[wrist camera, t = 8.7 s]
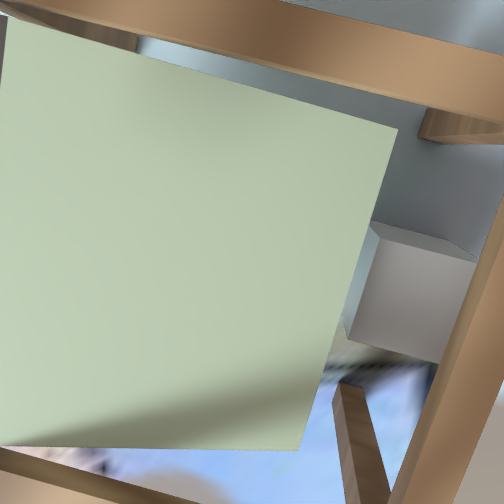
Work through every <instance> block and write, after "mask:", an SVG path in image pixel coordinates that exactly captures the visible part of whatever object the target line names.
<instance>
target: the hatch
mask: <svg viewBox="0 0 504 504" xmlns="http://www.w3.org/2000/svg"><path fill="white" fill-rule="evenodd" d="M398 130H399V129H396V128H392V127H389V126H385V125H382V124H378V123H375V122H371V121H368V120H364V119H361V118H358V117H354V116H351V115H347V114H344V113H340V112H337V111H333V110H330V109H326V108H323V107H320V106H316V105H313V104H309V103H306V102H302V101H299V100H295V99H292V98H288V97H285V96H282V95H278V94H275V93H271V92H268V91H264V90H261V89H257V88H254V87H250V86H247V85H244V84H240V83H237V82H233V81H230V80H226V79H223V78H219V77H216V76H212V75H209V74H206V73H202V72H199V71H195V70H192V69H188V68H185V67H181V66H178V65H174V64H171V63H168V62H164V61H161V60H157V59H154V58H150V57H147V56H143V55H140V54H136V53H133V52H130V51H126V50H123V49H119V48H116V47H112V46H109V45H105V44H102V43H98V42H95V41H92V40H88V39H85V38H81V37H78V36H74V35H71V34H67V33H64V32H60V31H57V30H54V29H50V28H47V27H43V26H40V25H36V24H33V23H29V22H26V21H22V20H19V19H16V18H12V17H9V16H8V17H7V16H4V15H0V446H30V447H87V448H144V449H201V450H258V451H298V450H299V447H300V444H301V440H302V437H303V434H304V431H305V428H306V424H307V421H308V418H309V415H310V412H311V408H312V405H313V402H314V399H315V395H316V392H317V389H318V386H319V383H320V379H321V376H322V373H323V370H324V367H325V363H326V360H327V357H328V354H329V351H330V347H331V344H332V341H333V338H334V335H335V331H336V328H337V325H338V322H339V319H340V315H341V312H342V309H343V306H344V303H345V299H346V296H347V293H348V290H349V287H350V283H351V280H352V277H353V274H354V271H355V267H356V264H357V261H358V258H359V255H360V251H361V248H362V245H363V242H364V239H365V235H366V232H367V229H368V226H369V223H370V219H371V216H372V213H373V210H374V207H375V203H376V200H377V197H378V194H379V191H380V187H381V184H382V181H383V178H384V175H385V171H386V168H387V165H388V162H389V158H390V155H391V152H392V149H393V146H394V142H395V139H396V136H397V133H398Z"/></svg>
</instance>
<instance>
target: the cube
mask: <svg viewBox="0 0 504 504" xmlns="http://www.w3.org/2000/svg"><path fill="white" fill-rule="evenodd" d="M478 261H479V259H477V258H476V257H474V256H473V255H471V254H469V253H468V252H466V251H465V250H463V249H461V248H460V247H458V246H457V245H455V244H453V243H452V242H450V241H449V240H445V239H441V238H437V237H433V236H429V235H426V234H422V233H418V232H414V231H410V230H406V229H403V228H399V227H395V226H391V225H387V224H383V223H379V222H376V221H372V220H370V223H369V226H368V229H367V232H366V235H365V239H364V242H363V245H362V248H361V251H360V255H359V258H358V261H357V264H356V267H355V271H354V274H353V277H352V280H351V283H350V287H349V290H348V293H347V296H346V299H345V303H344V306H343V309H342V312H341V316H342V320H343V324H344V328H345V331H346V335H347V339H348V340H352V341H356V342H360V343H363V344H367V345H371V346H374V347H378V348H382V349H386V350H389V351H393V352H397V353H401V354H404V355H408V356H412V357H415V358H419V359H423V360H427V361H430V362H434V363H438V364H440V362H441V359H442V356H443V354H444V351H445V348H446V346H447V343H448V340H449V338H450V335H451V332H452V330H453V327H454V325H455V322H456V319H457V317H458V314H459V311H460V309H461V306H462V303H463V301H464V298H465V295H466V293H467V290H468V287H469V285H470V282H471V279H472V277H473V274H474V271H475V269H476V266H477V263H478Z"/></svg>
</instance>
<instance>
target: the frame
mask: <svg viewBox="0 0 504 504" xmlns="http://www.w3.org/2000/svg"><path fill="white" fill-rule="evenodd" d="M0 11H1V12H4V13H6V14H8V15H10V16H12V17H15V18H17V19H19V20H22V21H26V22H29V23H33V24H36V25H40V26H43V27H47V28H50V29H54V30H57V31H60V32H64V33H67V34H71V35H74V36H78V37H81V38H85V39H88V40H92V41H95V42H98V43H102V44H105V45H109V46H112V47H116V48H119V49H123V50H126V51H130V52H133V53H135V51H136V45H137V39H138V37H137V36H136V35H134V34H133V33H136V34H140V35H144V36H148V37H152V38H156V39H160V40H164V41H168V42H172V43H176V44H180V45H184V46H188V47H192V48H196V49H200V50H204V51H208V52H212V53H216V54H220V55H224V56H228V57H232V58H236V59H240V60H244V61H248V62H252V63H256V64H260V65H264V66H268V67H272V68H276V69H280V70H284V71H288V72H292V73H296V74H300V75H304V76H308V77H312V78H316V79H320V80H324V81H328V82H332V83H336V84H340V85H344V86H348V87H352V88H356V89H360V90H364V91H368V92H372V93H376V94H380V95H384V96H388V97H392V98H396V99H400V100H404V101H408V102H412V103H416V104H420V105H424V106H428V107H432V108H429V109H427V110H426V113H425V116H424V119H423V122H422V125H421V128H420V131H419V134H418V138H422V139H426V140H430V141H434V142H438V143H442V144H504V56H502V55H498V54H494V53H490V52H486V51H482V50H478V49H474V48H470V47H466V46H461V45H457V44H453V43H449V42H445V41H441V40H437V39H433V38H429V37H425V36H421V35H417V34H413V33H408V32H404V31H400V30H396V29H392V28H388V27H384V26H380V25H376V24H372V23H368V22H364V21H360V20H356V19H351V18H347V17H343V16H339V15H335V14H331V13H327V12H323V11H319V10H315V9H311V8H307V7H303V6H299V5H294V4H290V3H286V2H282V1H278V0H0ZM131 32H132V33H131ZM503 380H504V194H503V197H502V200H501V202H500V205H499V208H498V210H497V213H496V216H495V218H494V221H493V224H492V226H491V229H490V232H489V234H488V237H487V239H486V242H485V245H484V247H483V250H482V253H481V255H480V258H479V261H478V263H477V266H476V269H475V271H474V274H473V277H472V279H471V282H470V285H469V287H468V290H467V293H466V295H465V298H464V301H463V303H462V306H461V309H460V311H459V314H458V317H457V319H456V322H455V325H454V327H453V330H452V332H451V335H450V338H449V340H448V343H447V346H446V348H445V351H444V354H443V356H442V359H441V362H440V364H439V367H438V370H437V372H436V375H435V378H434V380H433V383H432V386H431V388H430V391H429V394H428V396H427V399H426V402H425V404H424V407H423V410H422V412H421V415H420V418H419V420H418V423H417V425H416V428H415V431H414V433H413V436H412V439H411V441H410V444H409V447H408V449H407V452H406V455H405V457H404V460H403V463H402V465H401V468H400V471H399V473H398V476H397V479H396V481H395V484H394V487H393V489H392V492H391V491H390V487H389V483H388V480H387V476H386V472H385V469H384V465H383V461H382V458H381V454H380V450H379V447H378V443H377V439H376V436H375V432H374V428H373V425H372V421H371V417H370V414H369V410H368V406H367V403H366V399H365V395H364V392H363V388H361V387H357V386H353V385H349V384H346V383H342V382H338V385H337V388H336V392H335V395H334V398H333V401H332V407H333V415H334V422H335V429H336V436H337V444H338V451H339V458H340V465H341V472H342V480H343V487H344V494H345V501H346V504H452V503H453V501H454V498H455V496H456V493H457V491H458V489H459V486H460V484H461V481H462V479H463V477H464V474H465V472H466V469H467V467H468V465H469V462H470V460H471V457H472V455H473V452H474V450H475V448H476V445H477V443H478V440H479V438H480V436H481V433H482V431H483V428H484V426H485V424H486V421H487V419H488V416H489V414H490V412H491V409H492V407H493V404H494V402H495V400H496V397H497V395H498V392H499V390H500V388H501V385H502V383H503ZM0 504H200V503H196V502H193V501H189V500H186V499H182V498H179V497H175V496H172V495H168V494H164V493H161V492H157V491H153V490H150V489H147V488H143V487H140V486H136V485H132V484H129V483H125V482H122V481H118V480H115V479H111V478H108V477H104V476H101V475H97V474H93V473H90V472H86V471H83V470H79V469H76V468H72V467H69V466H65V465H61V464H58V463H54V462H51V461H47V460H44V459H40V458H37V457H33V456H30V455H26V454H22V453H19V452H15V451H12V450H8V449H5V448H1V447H0Z"/></svg>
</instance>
